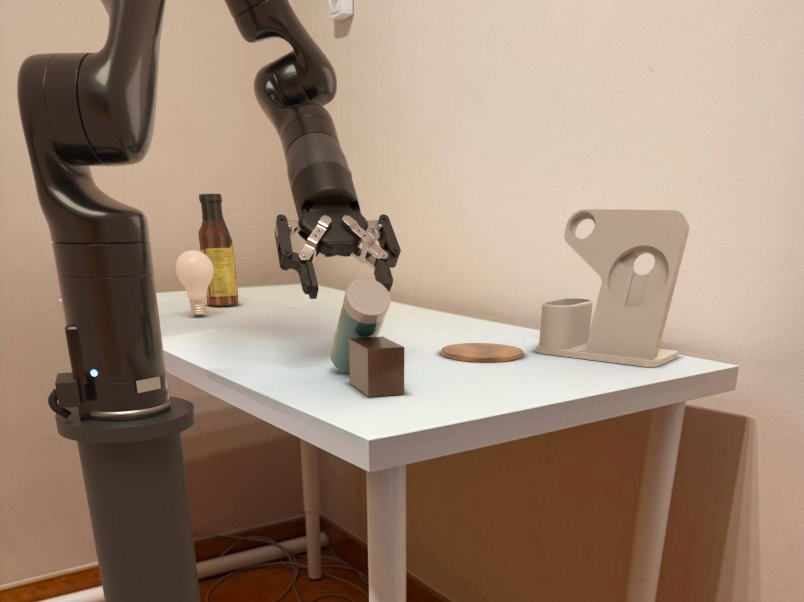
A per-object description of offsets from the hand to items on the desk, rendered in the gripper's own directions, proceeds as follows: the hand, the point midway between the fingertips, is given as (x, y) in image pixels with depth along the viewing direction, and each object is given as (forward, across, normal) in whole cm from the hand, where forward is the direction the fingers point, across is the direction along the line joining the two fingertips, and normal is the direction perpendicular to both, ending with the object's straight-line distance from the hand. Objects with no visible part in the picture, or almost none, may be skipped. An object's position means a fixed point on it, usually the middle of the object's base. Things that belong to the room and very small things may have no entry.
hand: (350, 293), depth 87 cm
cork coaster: (+2, -20, -11) cm, 23 cm away
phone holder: (+6, -36, -7) cm, 37 cm away
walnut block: (+13, 0, 0) cm, 13 cm away
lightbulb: (-32, +12, -45) cm, 56 cm away
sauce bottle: (-42, +6, -55) cm, 70 cm away
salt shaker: (+9, 0, -4) cm, 10 cm away
